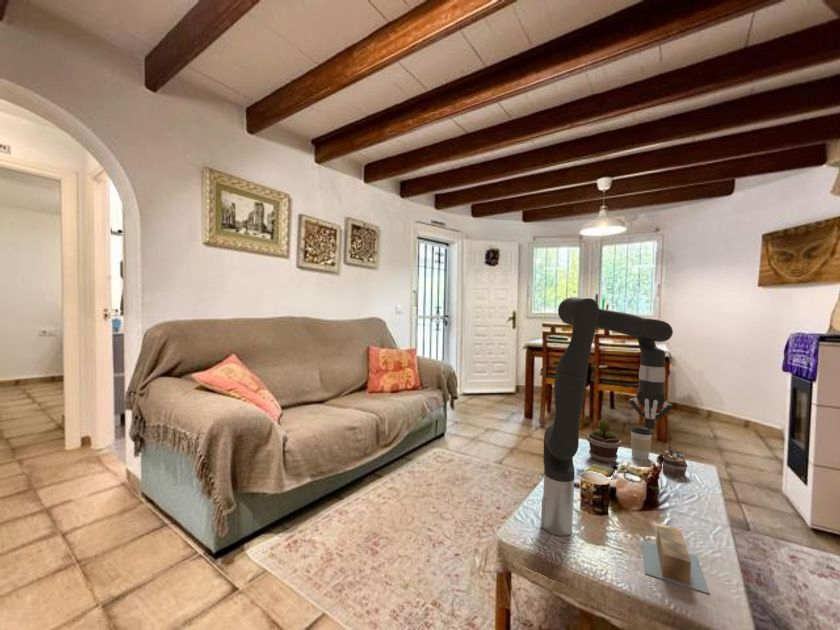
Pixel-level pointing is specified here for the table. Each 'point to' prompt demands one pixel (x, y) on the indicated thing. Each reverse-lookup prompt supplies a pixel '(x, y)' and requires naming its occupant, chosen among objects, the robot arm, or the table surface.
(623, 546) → the table surface
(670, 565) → the walnut block
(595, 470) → the carton
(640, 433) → the coffee cup
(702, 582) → the slate mat
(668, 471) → the cupcake
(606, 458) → the flowerpot
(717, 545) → the table surface
